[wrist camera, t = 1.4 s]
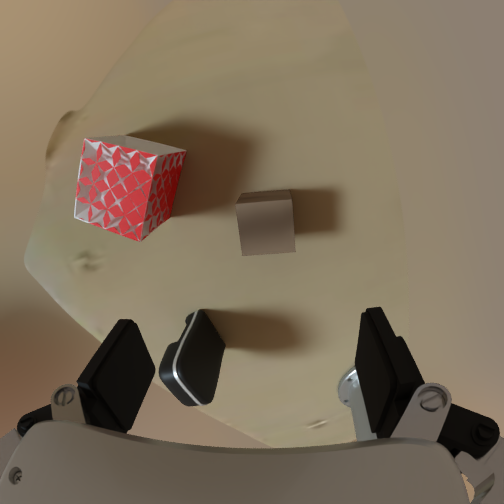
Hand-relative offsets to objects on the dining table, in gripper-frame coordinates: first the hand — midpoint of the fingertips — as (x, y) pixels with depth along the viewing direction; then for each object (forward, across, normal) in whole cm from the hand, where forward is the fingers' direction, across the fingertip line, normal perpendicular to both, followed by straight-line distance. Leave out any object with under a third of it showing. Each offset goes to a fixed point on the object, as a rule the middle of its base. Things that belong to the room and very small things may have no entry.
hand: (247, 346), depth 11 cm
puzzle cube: (+21, +13, -6) cm, 25 cm away
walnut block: (+21, 0, +1) cm, 21 cm away
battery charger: (+21, +10, +16) cm, 28 cm away
